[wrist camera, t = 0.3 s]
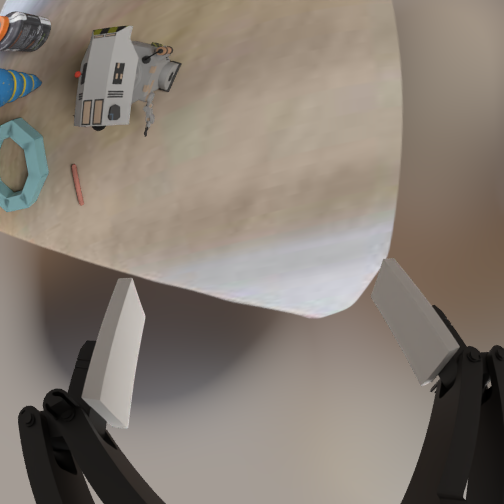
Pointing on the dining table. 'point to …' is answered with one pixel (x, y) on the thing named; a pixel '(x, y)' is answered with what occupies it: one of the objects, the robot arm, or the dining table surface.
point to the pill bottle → (23, 32)
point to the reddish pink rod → (77, 184)
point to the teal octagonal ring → (35, 165)
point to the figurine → (120, 78)
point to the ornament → (16, 85)
